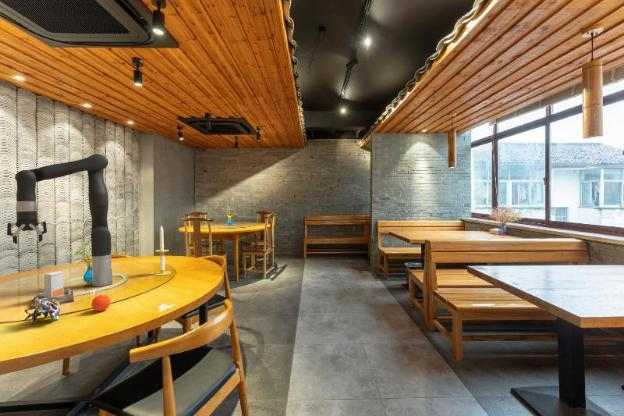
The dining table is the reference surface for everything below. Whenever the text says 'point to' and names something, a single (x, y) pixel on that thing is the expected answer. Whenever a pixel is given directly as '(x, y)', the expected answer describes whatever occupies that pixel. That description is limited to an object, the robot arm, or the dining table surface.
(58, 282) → the skincare box
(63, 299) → the brown shallow box
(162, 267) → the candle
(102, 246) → the robot arm
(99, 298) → the clementine
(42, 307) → the passion flower
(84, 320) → the dining table surface
